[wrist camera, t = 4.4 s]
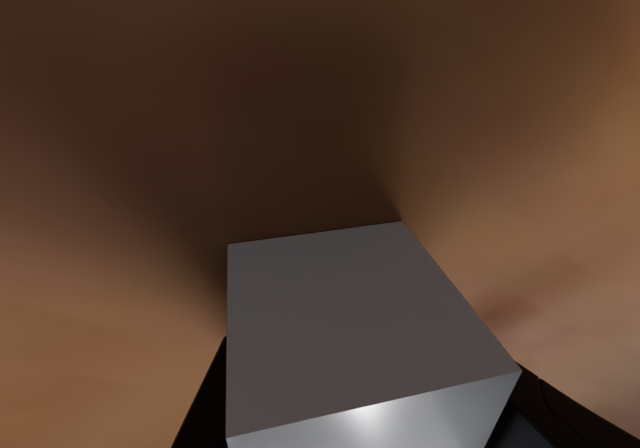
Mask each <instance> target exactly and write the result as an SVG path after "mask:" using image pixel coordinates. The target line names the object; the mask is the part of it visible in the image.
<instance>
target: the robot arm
mask: <svg viewBox="0 0 640 448" xmlns="http://www.w3.org/2000/svg"><path fill="white" fill-rule="evenodd" d="M226 358H227V336H225V337H224V338H223V340H222V342H221V344H220V346H219V348H218V351H217V353H216V355H215V357H214V359H213V361H212V363H211V365H210V367H209V369H208V371H207V373H206V375H205V378H204V380H203V382H202V384H201V386H200V388H199V390H198V392H197V394H196V396H195V398H194V400H193V403H192V405H191V407H190V409H189V411H188V413H187V415H186V417H185V419H184V421H183V423H182V425H181V427H180V430H179V432H178V434H177V436H176V438H175V440H174V442H173V444H172V446H171V448H229V447H228V444H227V441H226ZM515 362H516V361H515ZM516 363H517V362H516ZM517 365H518V366H519V367H520V368H521V370H522V372H521V374H520V376H519V378H518V380H517V382H516V384H515V386H514V388H513V390H512V392H511V394H510V396H509V398H508V400H507V402H506V404H505V407H504V409H503V411H502V413H501V415H500V417H499V419H498V421H497V423H496V425H495V427H494V429H493V431H492V433H491V435H490V437H489V439H488V441H487V443H486V445H485V447H484V448H640V440H639V439H638V438H636V437H634V436H633V435H631V434H629V433H628V432H626V431H624V430H622V429H621V428H619V427H617V426H616V425H614V424H612V423H611V422H609V421H607V420H605V419H604V418H602V417H600V416H599V415H597V414H595V413H594V412H592V411H590V410H589V409H587V408H586V407H584V406H582V405H581V404H579V403H577V402H576V401H574V400H573V399H571V398H570V397H568V396H567V395H565V394H563V393H562V392H560V391H559V390H557V389H556V388H554V387H553V386H551V385H550V384H548V383H547V382H545V381H544V380H543V379H539V378H538V376H536V375H535V374H534V373H532V372H531V371H529V370H528V369H526V368H525V367H523V366H522V365H520V364H519V363H517Z"/></svg>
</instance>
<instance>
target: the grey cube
mask: <svg viewBox="0 0 640 448" xmlns="http://www.w3.org/2000/svg"><path fill="white" fill-rule="evenodd" d="M521 372H522V370H521V368H520V367H519V366H518V365H517V363H516V362H515V361H514V360H513V358H512V357H511V356H510V355H509V353H508V352H507V351H506V350H505V348H504V347H503V346H502V345H501V343H500V342H499V341H498V340H497V338H496V337H495V336H494V335H493V333H492V332H491V331H490V330H489V328H488V327H487V326H486V325H485V323H484V322H483V321H482V320H481V318H480V317H479V316H478V315H477V313H476V312H475V311H474V310H473V308H472V307H471V306H470V305H469V303H468V302H467V301H466V300H465V298H464V297H463V296H462V295H461V293H460V292H459V291H458V290H457V288H456V287H455V286H454V285H453V283H452V282H451V281H450V280H449V278H448V277H447V276H446V275H445V273H444V272H443V271H442V270H441V268H440V267H439V266H438V265H437V263H436V262H435V261H434V260H433V258H432V257H431V256H430V255H429V253H428V252H427V251H426V250H425V248H424V247H423V246H422V245H421V243H420V242H419V241H418V240H417V238H416V237H415V236H414V235H413V233H412V232H411V231H410V229H409V228H408V227H407V226H406V224H405V223H404V222H403V221H399V222H392V223H384V224H377V225H369V226H362V227H354V228H347V229H339V230H332V231H324V232H317V233H309V234H302V235H294V236H286V237H279V238H271V239H264V240H256V241H249V242H241V243H234V244H228V262H227V358H226V441H227V444H228V447H229V448H484V447H485V445H486V443H487V441H488V439H489V437H490V435H491V433H492V431H493V429H494V427H495V425H496V423H497V421H498V419H499V417H500V415H501V413H502V411H503V409H504V407H505V404H506V402H507V400H508V398H509V396H510V394H511V392H512V390H513V388H514V386H515V384H516V382H517V380H518V378H519V376H520V374H521Z"/></svg>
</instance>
